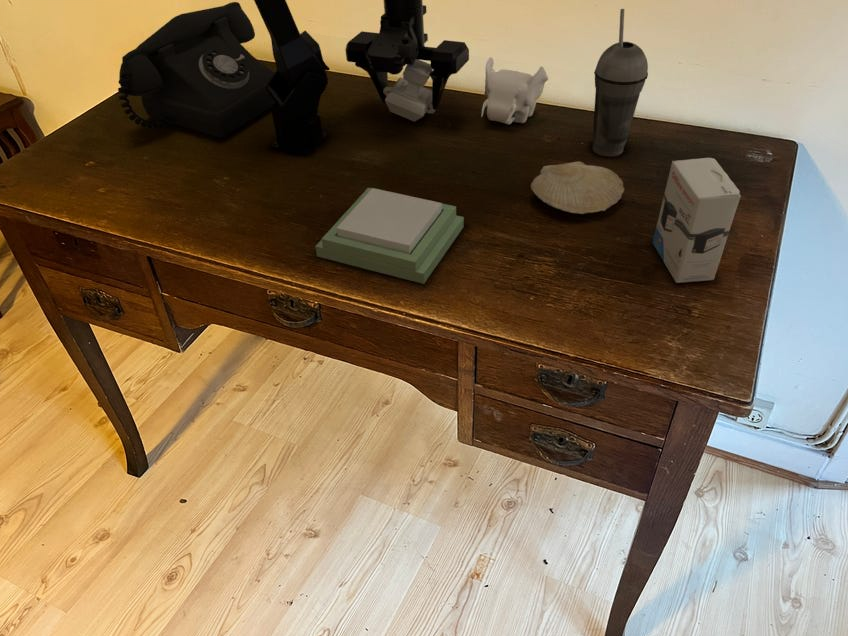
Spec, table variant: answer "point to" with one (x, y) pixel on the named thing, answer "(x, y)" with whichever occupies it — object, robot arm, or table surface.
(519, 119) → the elephant figurine
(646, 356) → the table surface
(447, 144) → the table surface
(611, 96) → the beverage cup
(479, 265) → the table surface
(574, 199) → the seashell
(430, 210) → the square push button
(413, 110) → the grey blocky piece
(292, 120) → the robot arm
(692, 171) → the ink box
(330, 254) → the scale
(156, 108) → the rotary telephone
